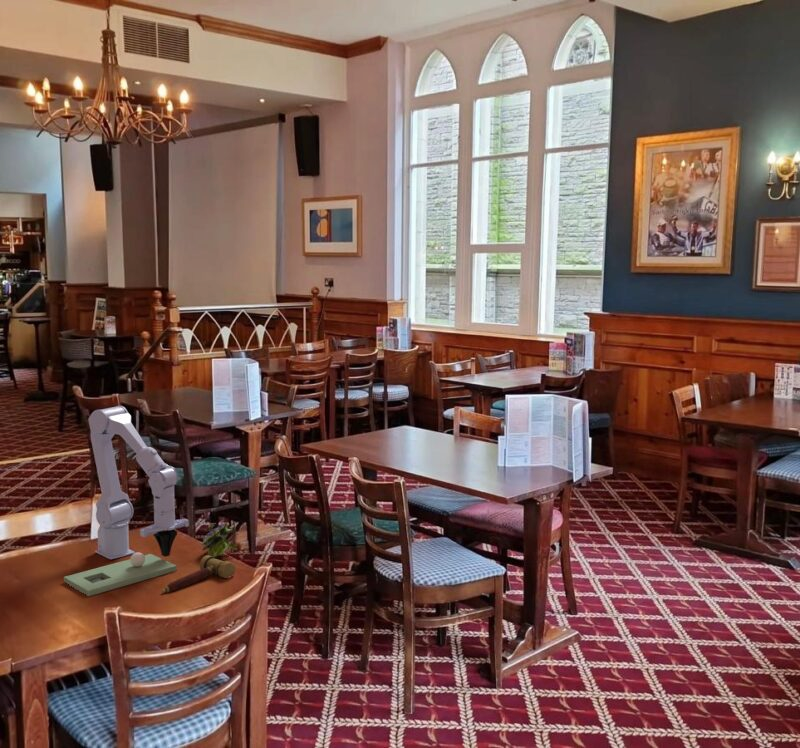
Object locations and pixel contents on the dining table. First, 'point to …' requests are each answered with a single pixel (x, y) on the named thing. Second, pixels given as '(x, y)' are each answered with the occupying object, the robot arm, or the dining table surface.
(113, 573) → the putting mat
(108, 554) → the robot arm
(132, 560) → the ball
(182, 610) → the dining table surface
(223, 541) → the passion flower
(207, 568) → the gavel
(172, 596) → the dining table surface
